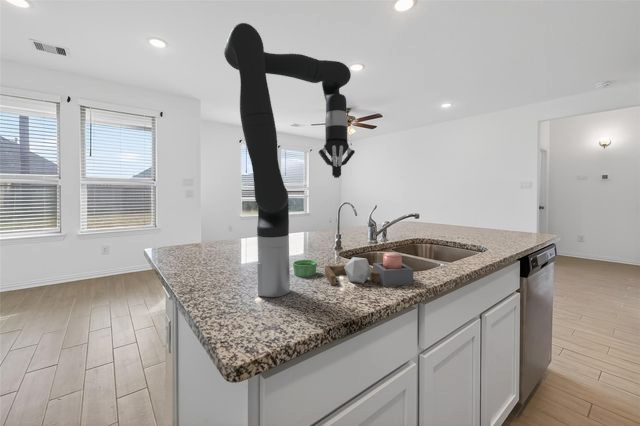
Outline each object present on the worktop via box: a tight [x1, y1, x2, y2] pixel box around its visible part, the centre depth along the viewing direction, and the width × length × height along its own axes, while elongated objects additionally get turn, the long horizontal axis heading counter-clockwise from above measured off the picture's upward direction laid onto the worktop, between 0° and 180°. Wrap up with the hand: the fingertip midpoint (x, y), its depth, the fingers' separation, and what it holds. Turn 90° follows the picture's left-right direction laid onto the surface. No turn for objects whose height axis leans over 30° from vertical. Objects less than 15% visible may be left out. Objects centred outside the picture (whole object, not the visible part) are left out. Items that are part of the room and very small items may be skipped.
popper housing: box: [372, 262, 414, 287], centre depth 93 cm, size 10×10×5 cm
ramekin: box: [292, 259, 318, 278], centre depth 103 cm, size 9×9×4 cm
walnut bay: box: [324, 264, 380, 286], centre depth 97 cm, size 16×14×3 cm
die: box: [344, 256, 372, 284], centre depth 93 cm, size 8×9×10 cm
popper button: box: [382, 251, 403, 269], centre depth 93 cm, size 6×6×6 cm
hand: (336, 177), depth 97 cm, fingers closed
